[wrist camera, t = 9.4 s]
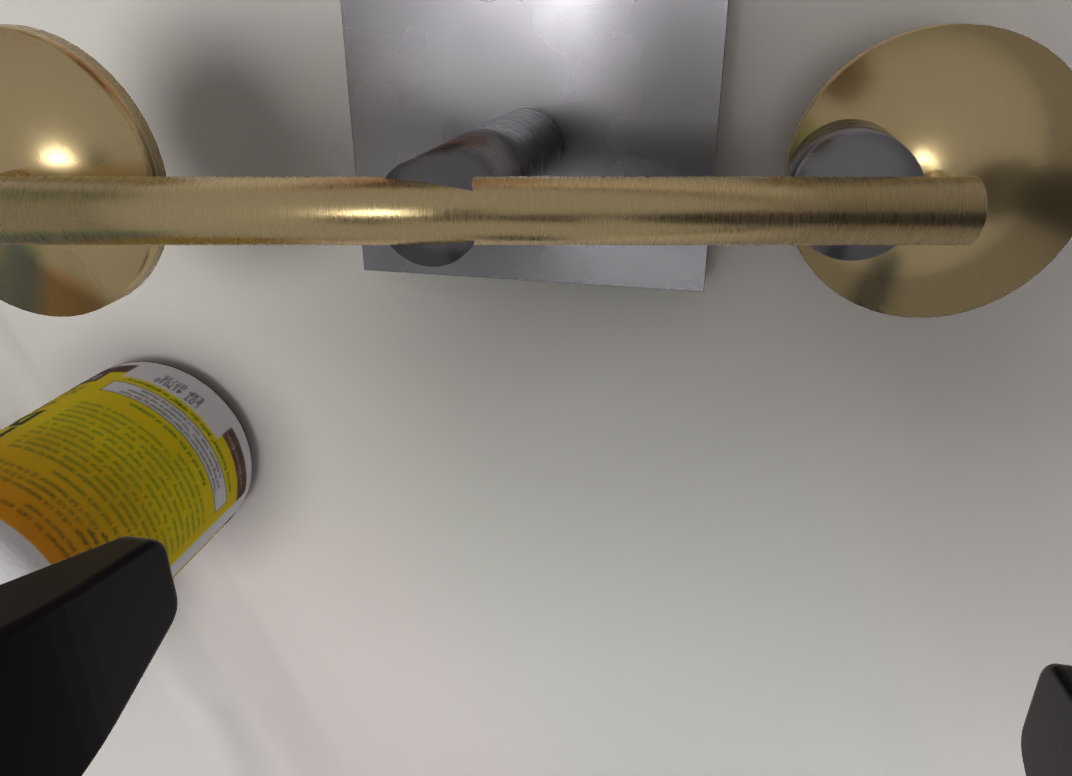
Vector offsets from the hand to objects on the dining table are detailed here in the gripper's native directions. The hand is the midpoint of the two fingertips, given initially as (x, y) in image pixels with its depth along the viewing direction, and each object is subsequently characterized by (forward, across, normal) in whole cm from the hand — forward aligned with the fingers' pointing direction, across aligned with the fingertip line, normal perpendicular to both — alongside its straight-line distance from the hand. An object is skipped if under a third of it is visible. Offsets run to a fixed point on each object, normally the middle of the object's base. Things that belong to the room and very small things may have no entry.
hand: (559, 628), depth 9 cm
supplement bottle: (+13, +14, +6) cm, 20 cm away
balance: (+12, +3, -3) cm, 13 cm away
